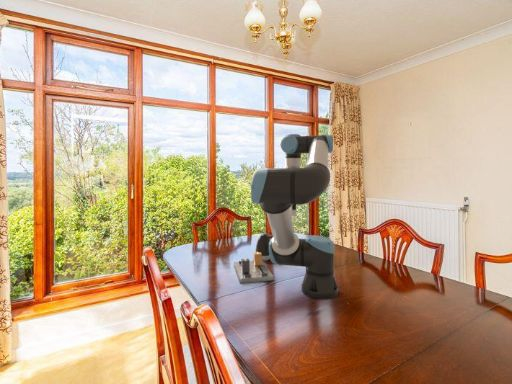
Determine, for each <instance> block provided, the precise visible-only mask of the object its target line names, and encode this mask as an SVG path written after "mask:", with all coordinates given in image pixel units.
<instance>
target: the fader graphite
mask: <svg viewBox="0 0 512 384" xmlns="http://www.w3.org/2000/svg"><path fill="white" fill-rule="evenodd" d="M240 261H241V271H242V273H248V272H250V258H246V257H244V258H241V260H240Z"/></svg>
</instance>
